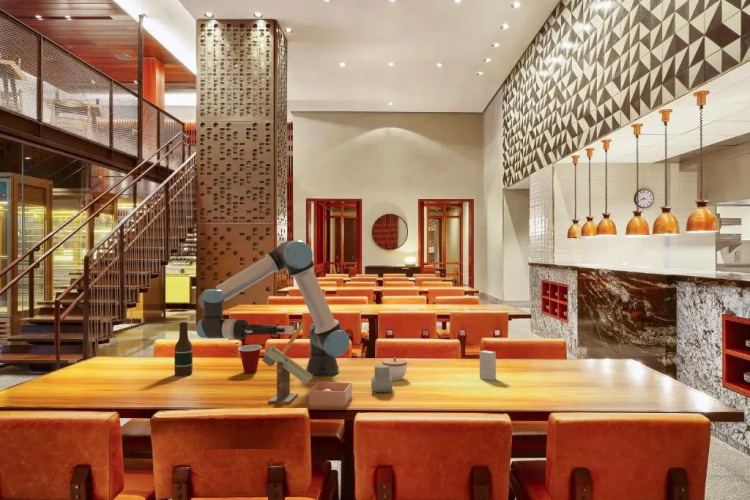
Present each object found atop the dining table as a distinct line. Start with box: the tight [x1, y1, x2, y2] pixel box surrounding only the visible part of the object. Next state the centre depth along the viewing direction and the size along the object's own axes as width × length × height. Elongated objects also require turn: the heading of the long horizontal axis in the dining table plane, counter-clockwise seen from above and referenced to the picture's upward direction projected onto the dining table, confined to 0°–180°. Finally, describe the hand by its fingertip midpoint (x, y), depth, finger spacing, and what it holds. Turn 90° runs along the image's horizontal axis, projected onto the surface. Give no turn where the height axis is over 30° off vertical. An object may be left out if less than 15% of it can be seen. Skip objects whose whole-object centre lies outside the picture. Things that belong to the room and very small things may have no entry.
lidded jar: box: [382, 357, 408, 381], centre depth 225 cm, size 11×11×9 cm
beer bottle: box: [174, 321, 194, 377], centre depth 233 cm, size 8×8×24 cm
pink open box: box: [308, 381, 353, 408], centre depth 190 cm, size 13×13×6 cm
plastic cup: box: [238, 344, 263, 374], centre depth 238 cm, size 11×11×12 cm
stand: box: [267, 356, 299, 405], centre depth 193 cm, size 8×11×15 cm
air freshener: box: [370, 364, 393, 394], centre depth 205 cm, size 11×8×10 cm
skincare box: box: [478, 350, 497, 381], centre depth 224 cm, size 6×4×12 cm
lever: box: [261, 322, 314, 385], centre depth 193 cm, size 20×10×18 cm
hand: (293, 330), depth 198 cm, fingers closed
